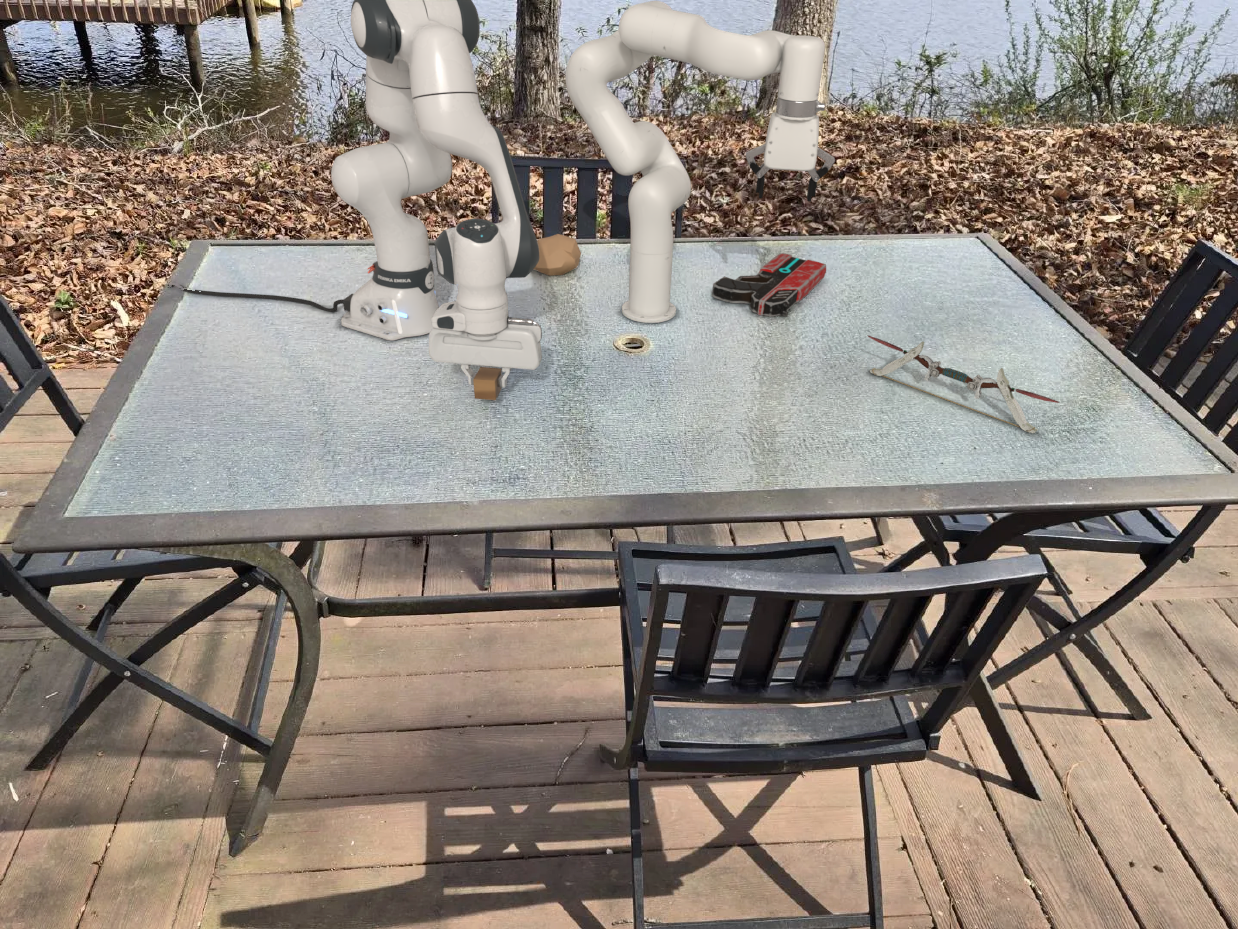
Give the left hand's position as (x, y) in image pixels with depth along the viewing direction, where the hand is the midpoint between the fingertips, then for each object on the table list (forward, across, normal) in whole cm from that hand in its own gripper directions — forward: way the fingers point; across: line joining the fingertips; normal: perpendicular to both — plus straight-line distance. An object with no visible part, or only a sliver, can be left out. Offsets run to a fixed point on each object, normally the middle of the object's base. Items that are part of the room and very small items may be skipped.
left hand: (487, 384), depth 161 cm
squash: (+6, +4, -71) cm, 71 cm away
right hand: (-26, -52, -41) cm, 71 cm away
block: (+2, 0, 0) cm, 2 cm away
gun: (+6, -54, -68) cm, 87 cm away
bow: (+6, -87, -18) cm, 90 cm away
